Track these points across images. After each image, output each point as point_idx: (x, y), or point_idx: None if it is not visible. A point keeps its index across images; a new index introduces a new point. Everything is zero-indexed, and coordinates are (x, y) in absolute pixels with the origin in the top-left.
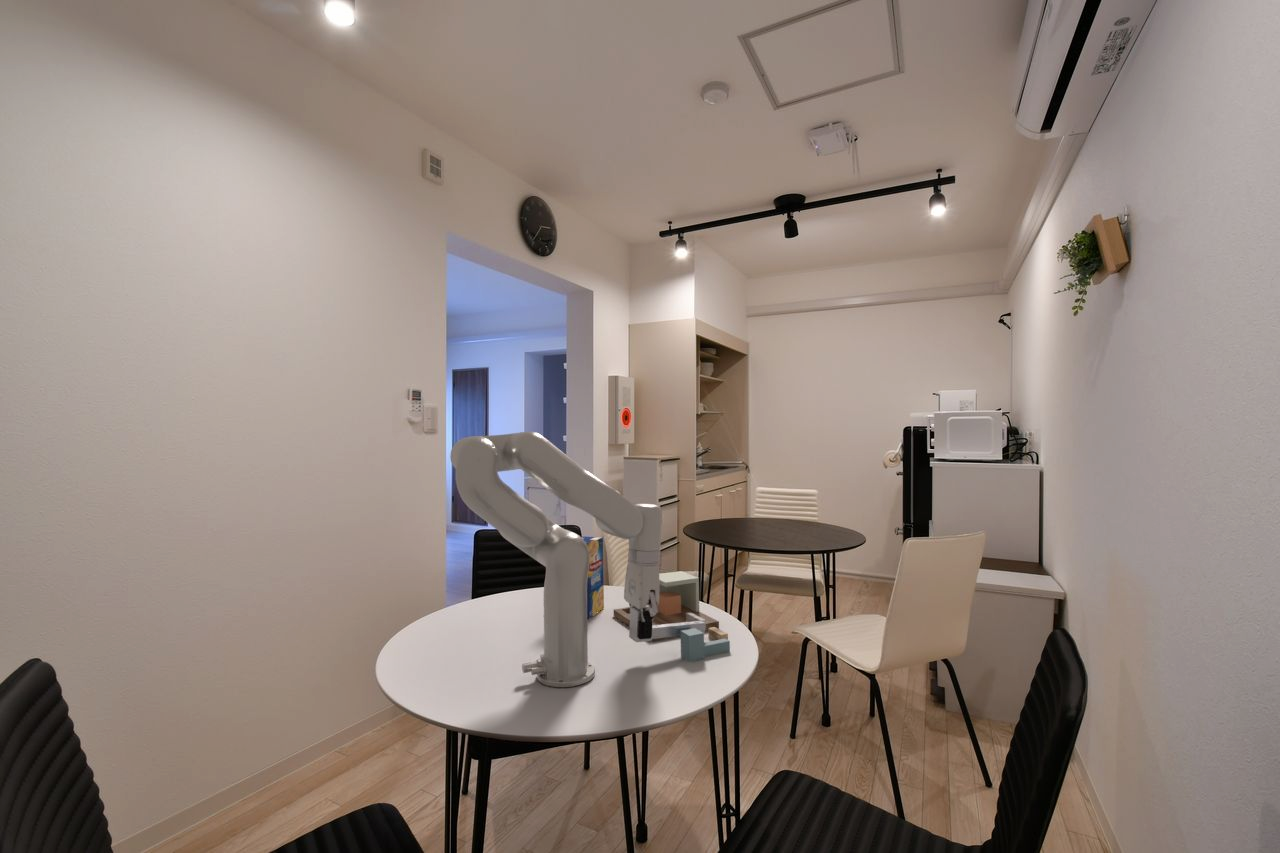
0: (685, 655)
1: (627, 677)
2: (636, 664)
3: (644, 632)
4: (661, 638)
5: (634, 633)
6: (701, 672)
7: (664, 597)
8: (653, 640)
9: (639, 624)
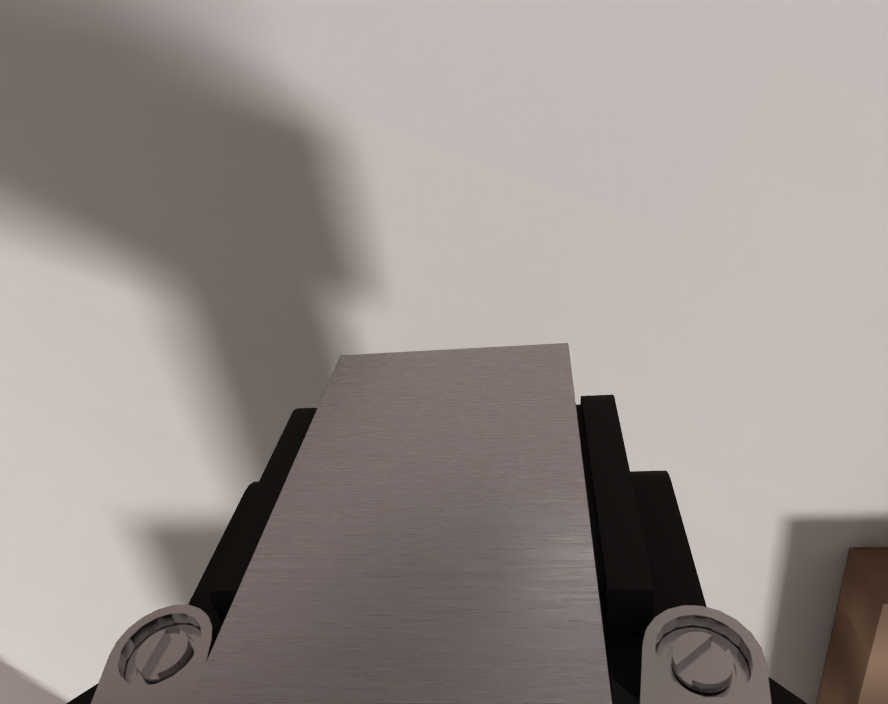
0: None
1: (147, 79)
2: (414, 262)
3: (242, 510)
4: (836, 633)
5: (389, 406)
6: (147, 581)
7: None
8: (847, 574)
9: (243, 548)
